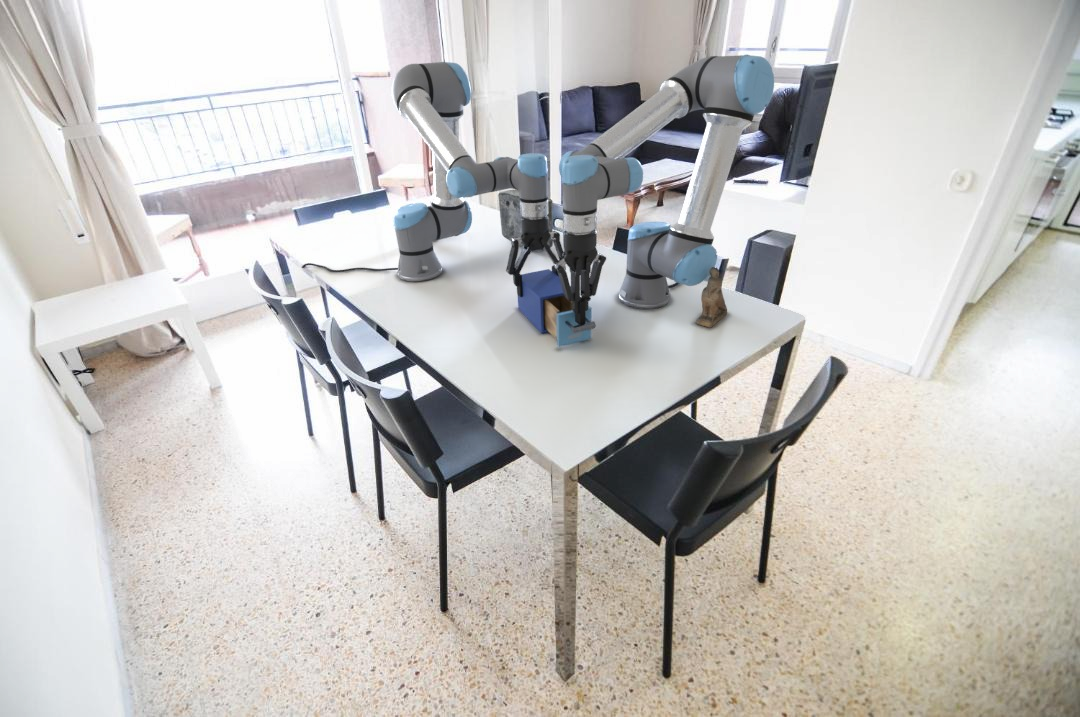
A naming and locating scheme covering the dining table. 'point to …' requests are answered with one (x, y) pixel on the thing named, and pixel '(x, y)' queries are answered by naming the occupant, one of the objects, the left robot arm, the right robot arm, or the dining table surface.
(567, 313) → the drawer
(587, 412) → the dining table surface
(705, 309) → the worn brown figurine
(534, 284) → the cabinet
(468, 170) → the left robot arm
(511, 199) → the concrete block
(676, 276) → the right robot arm
